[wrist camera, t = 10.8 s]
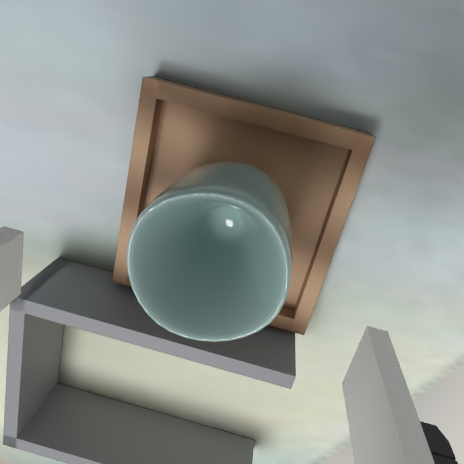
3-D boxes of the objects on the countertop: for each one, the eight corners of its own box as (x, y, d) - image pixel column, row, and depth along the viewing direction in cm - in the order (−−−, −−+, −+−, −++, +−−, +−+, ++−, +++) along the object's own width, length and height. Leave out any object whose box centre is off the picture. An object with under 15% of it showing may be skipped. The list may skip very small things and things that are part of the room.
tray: (153, 76, 27) (142, 76, 25) (369, 133, 27) (375, 137, 25) (122, 269, 32) (111, 281, 30) (303, 319, 32) (304, 335, 30)
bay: (58, 257, 33) (10, 295, 27) (294, 323, 32) (295, 376, 26) (45, 388, 37) (3, 444, 32) (251, 448, 37) (244, 515, 31)
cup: (289, 145, 27) (289, 184, 18) (294, 259, 30) (295, 345, 20) (169, 152, 28) (109, 193, 19) (184, 261, 31) (137, 344, 21)
